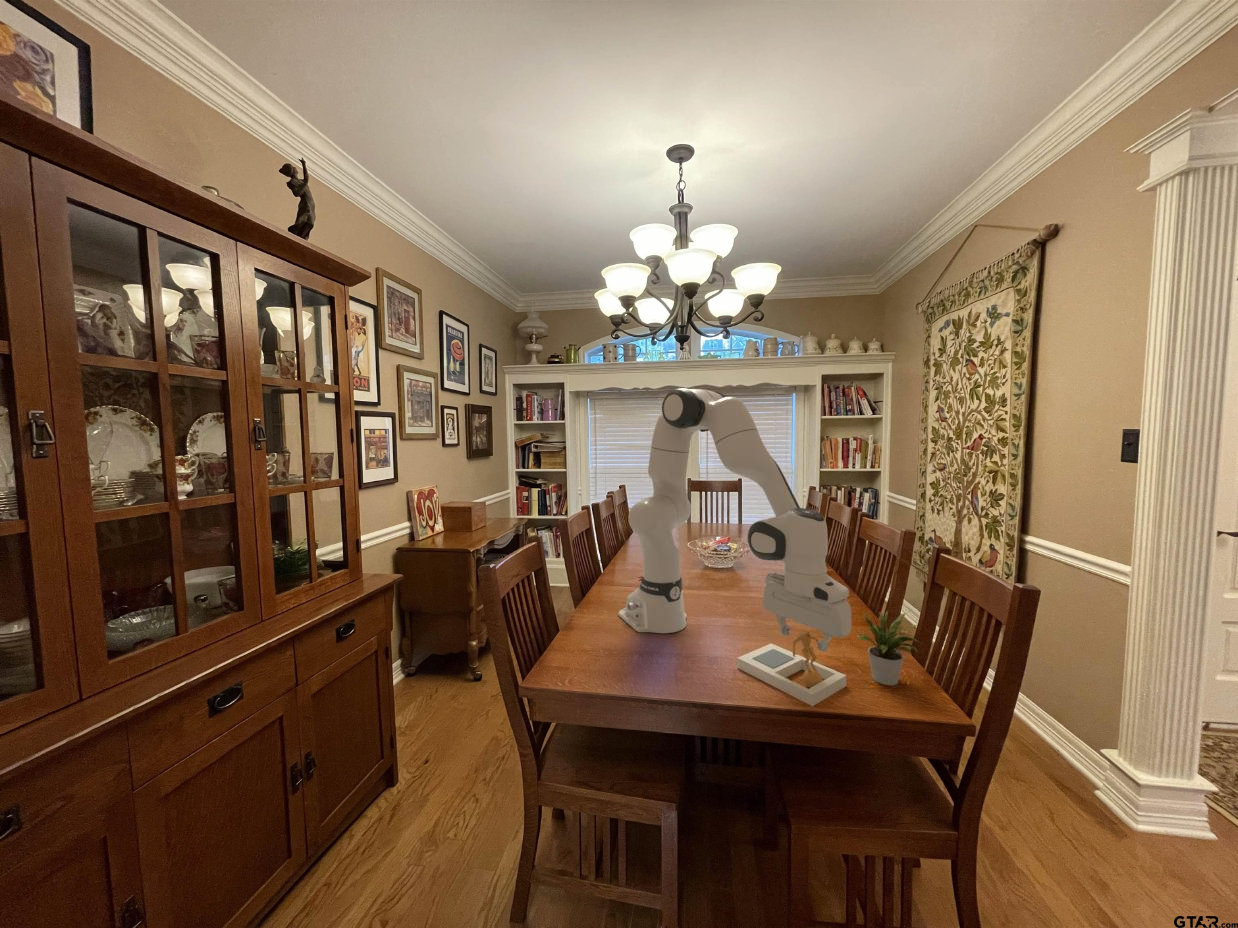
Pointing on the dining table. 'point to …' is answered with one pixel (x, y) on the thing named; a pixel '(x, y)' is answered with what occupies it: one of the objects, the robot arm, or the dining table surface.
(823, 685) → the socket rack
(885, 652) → the house plant
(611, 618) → the dining table surface
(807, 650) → the figurine
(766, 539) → the robot arm
